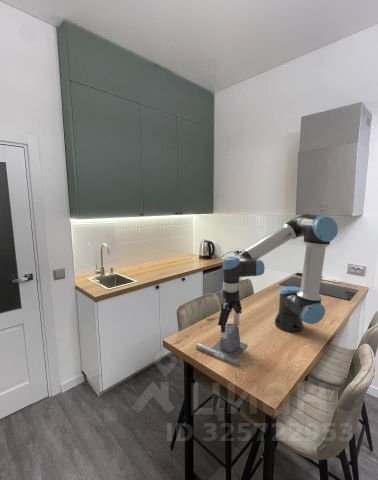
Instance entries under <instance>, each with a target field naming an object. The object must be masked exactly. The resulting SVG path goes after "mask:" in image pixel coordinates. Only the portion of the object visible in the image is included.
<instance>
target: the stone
mask: <svg viewBox="0 0 378 480" xmlns="http://www.w3.org/2000/svg"><path fill="white" fill-rule="evenodd" d="M226 325H227V338H226V339H225V338H222V337H221V336H220V339H219V341H220V348H222V349H223V350H224V351H226V352H230V353H232V352H234V351H235V350H236V349H237V348H238V347H239V345H240V342H241V339H240V330H239V329H240V328H239V326H237V325H235V324H234V323H226Z"/></svg>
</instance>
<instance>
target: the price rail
mask: <svg viewBox="0 0 378 480" xmlns="http://www.w3.org/2000/svg"><path fill="white" fill-rule="evenodd" d="M195 348H196V349H198V350H200V351H202V352H204V353H207V354H209V355H212V357H213V356H214V357H215V358H218V359H220V360H223V361H225V362H227V363H230V364H232V365H234V366H236V367H237V366H239V363H240V360H239V359H238V358H236V359H235V358H233V357H231V356H228V355H226V354H223V353H221V352H218V351H216V350H214V349H211V348H212V347H208V346H206V345H204V344H201V343H199V342H197V343H196V344H195Z"/></svg>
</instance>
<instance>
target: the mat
mask: <svg viewBox="0 0 378 480" xmlns="http://www.w3.org/2000/svg"><path fill="white" fill-rule="evenodd" d="M247 346H248V344H247V343H244V342H242V341H240V345H239V347H238V348H237V349H236V350H235V351H234V352H232V353H230V352H226V351H224V350H223V349H222V348H220V340H218V341H217V342H216V343H215V344H214V345H213V346H212V347H210V348H211V349H214V350H216V351H218V352H221V353H223V354H226V355H228V356H231V357H233V358H235V359H238V357H239V356H240V355H241V353H242V352H243V351H244V350H245V349H246V347H247Z"/></svg>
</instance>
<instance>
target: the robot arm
mask: <svg viewBox="0 0 378 480" xmlns="http://www.w3.org/2000/svg"><path fill="white" fill-rule="evenodd" d="M338 231H339V228H338V224H337V222H336V221H335V219H334V218H333V217H331V216H327V215H323V214H322V215H320V214H319V215H318V214H311V213H310V214H309V213H308V214H301V215H298V216H296V217H295V218H293V219H291V220H289V221H287V222H285V223H284V224H283V225H282V227H281V228H278V229H277V230H276V231H274V232H273V233H271V234H269V235H267V236H265V238H263V239H261V240H259V241H258V242H256V243H255V244H253V245H251V246H250V247H247V248H246V249H245V250H243V251H242V252H234V253H233V254H231V256H226V257H224V258H223V261H222V289H223V290H222V298H223V299H224V300H225V302H224V303H221V310H220V314H219V319H218V323H217V325H218V326H220V338H221V337H222V338H225V339H226V338H227V325H226V324H228V319H229V317H230V314H231V312H232V310H233V311H234V312H233V324H235V325H237V327H240V316H241V315H240V314H242V310H243V309H242V304H241V300H240V278H248V277H259V276H262V275H263V274H264V273H265V264H264V262H263V260H262V259H261V258H263V257H264V256H266V255H267V254H269V253H270V252H272V251H274V250H275V249H277V248H279V247H280V246H282V245H284V244H285V243H287V242H289V241H291V240H296V239H297V238H300V237H303V243H304V244H305V246H306V247H305V254H304V261H303V268H302V274H301V282H300V287H298V286H293V285H286V286H285V285H284V286H282V287H281V288H280V290H279V304H278V312H277V314H276V316H275V319H274V326H276V328H278V329H279V330H282V331H285V332H288V333H299V332H302V331H303V329H304V323H306V324H308V325H315V324H318V323H319V322H320V321H322V320H323V318H324V317H325V315H326V309H325V307H324V306H323V305H322V304H321V303H322V298H323V297H322V296H321V295H320V288H321V281H322V274H323V269H324V260H325V254H326V248H327V247H328V246H330V245H331V241H333V240H334V239H335V238H337V236H338ZM303 322H304V323H303Z"/></svg>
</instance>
